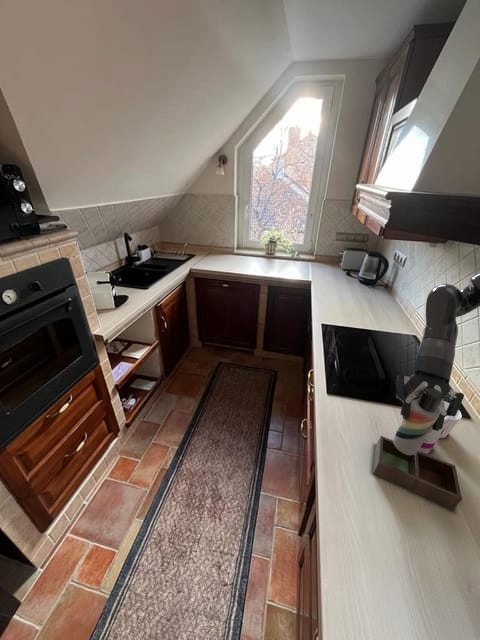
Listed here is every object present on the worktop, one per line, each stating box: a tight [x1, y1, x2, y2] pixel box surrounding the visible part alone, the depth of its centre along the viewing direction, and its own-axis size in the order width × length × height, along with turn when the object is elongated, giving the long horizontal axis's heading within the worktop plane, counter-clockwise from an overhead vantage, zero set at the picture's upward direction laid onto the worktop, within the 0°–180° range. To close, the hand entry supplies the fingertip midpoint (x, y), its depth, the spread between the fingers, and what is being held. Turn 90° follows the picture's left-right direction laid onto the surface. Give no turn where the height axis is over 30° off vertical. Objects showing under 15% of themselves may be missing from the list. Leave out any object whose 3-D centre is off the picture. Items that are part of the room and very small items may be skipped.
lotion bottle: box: [393, 388, 444, 455], centre depth 63 cm, size 6×6×20 cm
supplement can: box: [418, 416, 449, 454], centre depth 77 cm, size 8×8×15 cm
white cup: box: [439, 401, 463, 439], centre depth 82 cm, size 8×8×10 cm
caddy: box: [372, 435, 463, 511], centre depth 70 cm, size 18×10×6 cm, turn 61°
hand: (419, 424), depth 62 cm, fingers closed on lotion bottle, 5 cm apart
